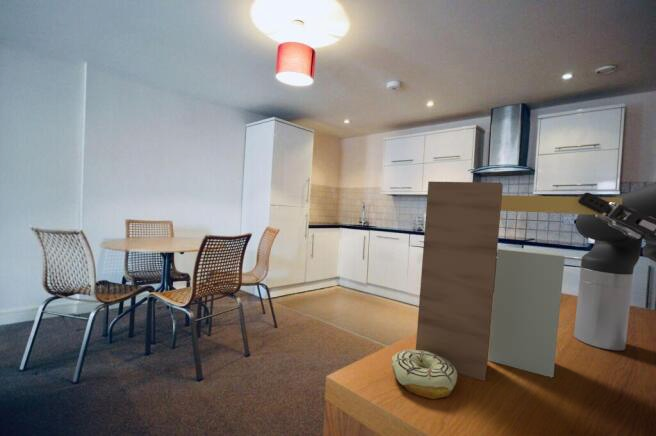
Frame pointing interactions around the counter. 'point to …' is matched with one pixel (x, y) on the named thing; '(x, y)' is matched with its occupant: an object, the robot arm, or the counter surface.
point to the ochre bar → (549, 204)
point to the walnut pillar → (459, 273)
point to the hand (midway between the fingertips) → (580, 197)
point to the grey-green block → (526, 309)
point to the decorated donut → (424, 373)
